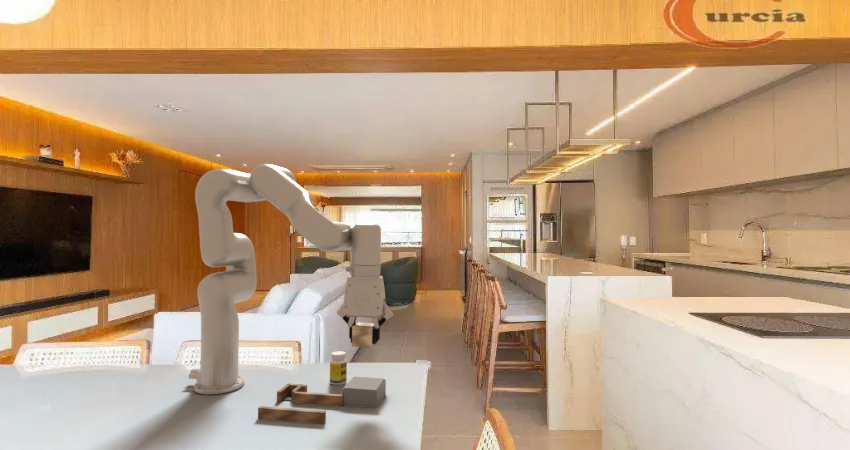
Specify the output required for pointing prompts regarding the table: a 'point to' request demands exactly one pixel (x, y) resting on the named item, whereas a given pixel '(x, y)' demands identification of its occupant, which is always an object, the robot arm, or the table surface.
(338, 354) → the supplement bottle
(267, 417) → the channel
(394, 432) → the table surface
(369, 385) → the stand
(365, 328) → the block
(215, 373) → the robot arm
